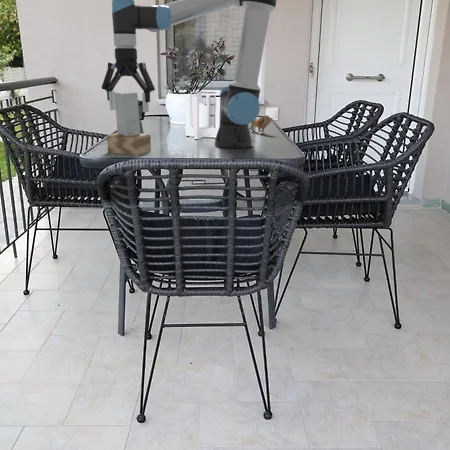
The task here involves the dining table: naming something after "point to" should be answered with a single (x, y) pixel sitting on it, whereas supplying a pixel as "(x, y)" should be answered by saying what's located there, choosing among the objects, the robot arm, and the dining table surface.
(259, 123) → the lion figurine
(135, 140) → the oak block
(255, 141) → the dining table surface
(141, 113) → the coffeepot
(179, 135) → the dining table surface
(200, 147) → the dining table surface
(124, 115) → the skincare box
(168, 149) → the dining table surface
